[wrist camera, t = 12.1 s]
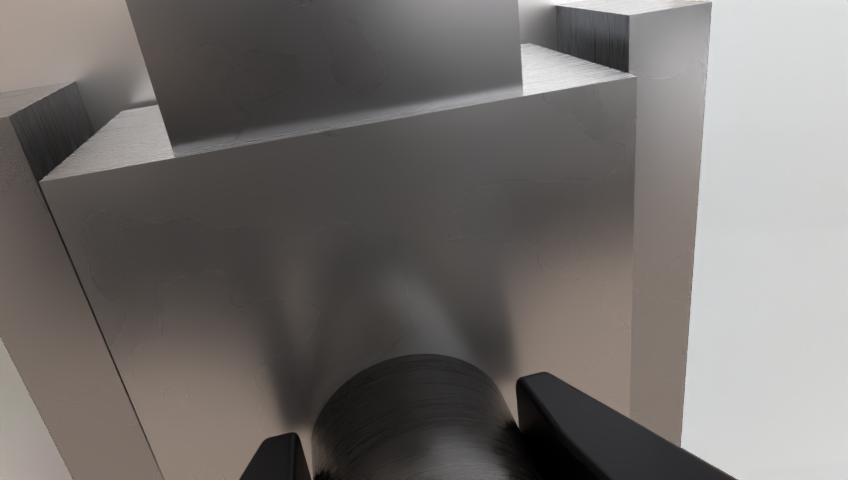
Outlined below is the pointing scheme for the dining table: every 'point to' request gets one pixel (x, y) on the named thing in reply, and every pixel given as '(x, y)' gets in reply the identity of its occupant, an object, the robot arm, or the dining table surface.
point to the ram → (355, 234)
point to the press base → (131, 88)
